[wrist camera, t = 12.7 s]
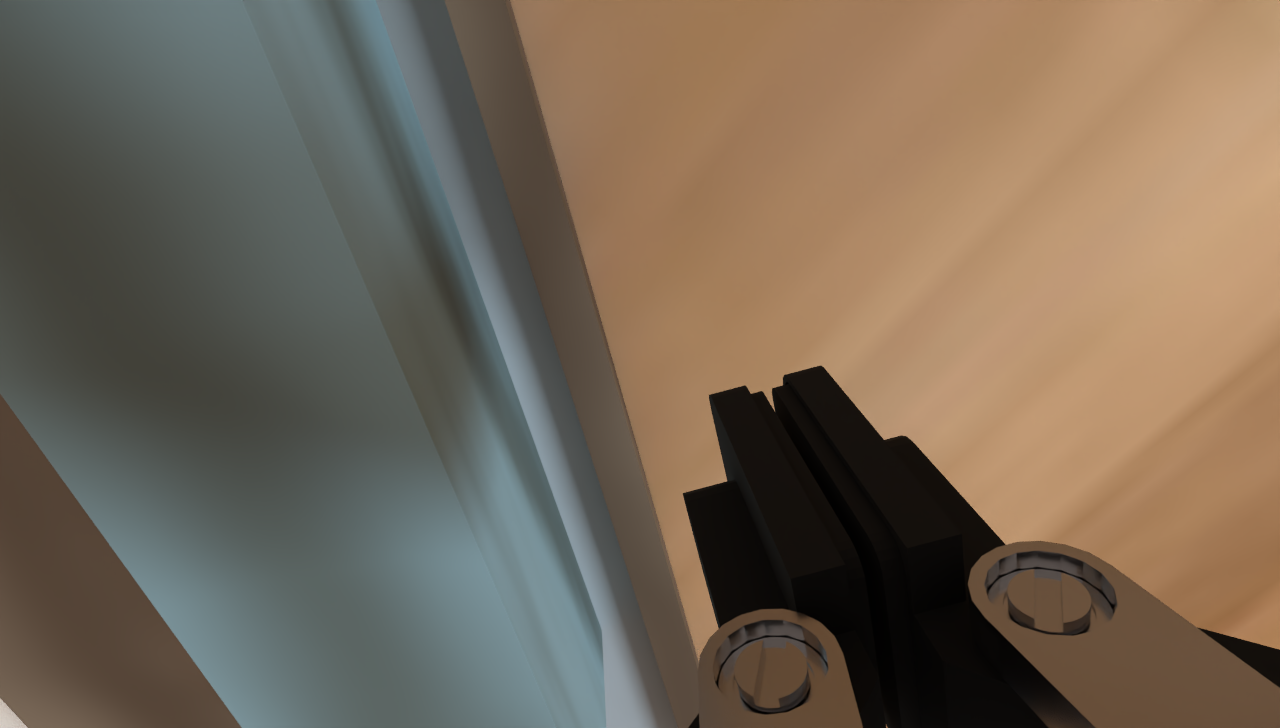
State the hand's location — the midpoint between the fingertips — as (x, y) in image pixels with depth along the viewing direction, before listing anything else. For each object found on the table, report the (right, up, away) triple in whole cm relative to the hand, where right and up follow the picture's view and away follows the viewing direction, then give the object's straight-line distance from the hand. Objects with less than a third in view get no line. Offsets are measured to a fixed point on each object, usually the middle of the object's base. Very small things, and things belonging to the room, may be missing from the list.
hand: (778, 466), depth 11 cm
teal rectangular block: (-8, +1, +5) cm, 9 cm away
